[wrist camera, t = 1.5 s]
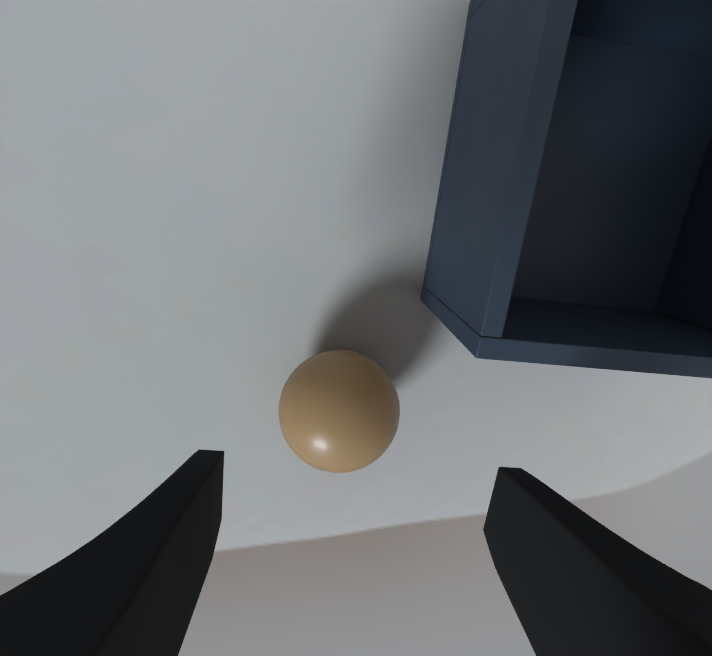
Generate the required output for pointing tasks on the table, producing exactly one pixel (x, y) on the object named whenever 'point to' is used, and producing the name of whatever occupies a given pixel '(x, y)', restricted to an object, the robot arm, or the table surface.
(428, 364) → the table surface
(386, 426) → the brown ball
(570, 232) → the bin
